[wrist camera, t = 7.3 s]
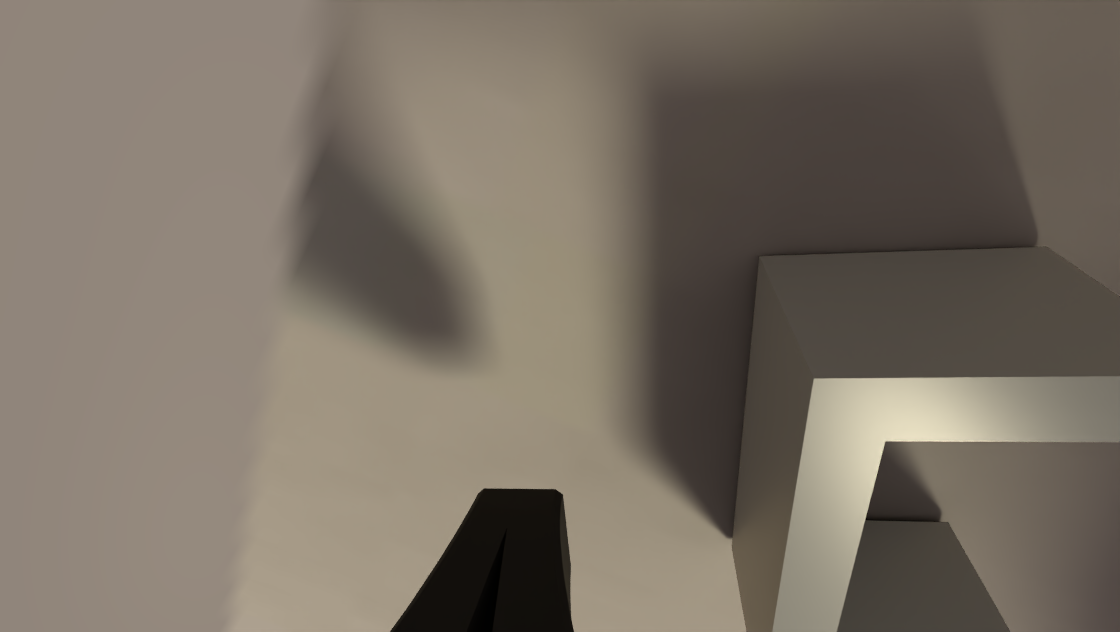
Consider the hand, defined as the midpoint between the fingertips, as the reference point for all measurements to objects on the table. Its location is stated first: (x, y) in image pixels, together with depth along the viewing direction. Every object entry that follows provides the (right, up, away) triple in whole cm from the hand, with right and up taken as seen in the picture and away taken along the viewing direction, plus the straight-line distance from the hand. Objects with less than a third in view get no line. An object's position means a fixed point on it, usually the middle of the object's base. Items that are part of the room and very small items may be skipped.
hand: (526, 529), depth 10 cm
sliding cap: (+7, +2, +2) cm, 7 cm away
